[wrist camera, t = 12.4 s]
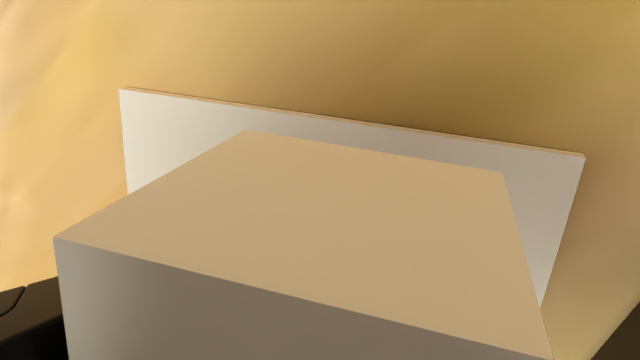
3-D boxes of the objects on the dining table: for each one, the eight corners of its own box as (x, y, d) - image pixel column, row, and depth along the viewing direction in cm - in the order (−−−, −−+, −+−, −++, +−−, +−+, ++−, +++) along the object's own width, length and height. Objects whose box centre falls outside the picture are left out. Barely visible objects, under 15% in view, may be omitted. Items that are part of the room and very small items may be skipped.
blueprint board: (582, 153, 18) (586, 158, 17) (492, 453, 24) (493, 466, 23) (127, 86, 22) (117, 89, 22) (148, 350, 28) (140, 358, 28)
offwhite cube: (502, 172, 8) (554, 360, 4) (448, 385, 10) (441, 682, 6) (245, 129, 10) (52, 237, 5) (238, 328, 11) (92, 540, 7)
